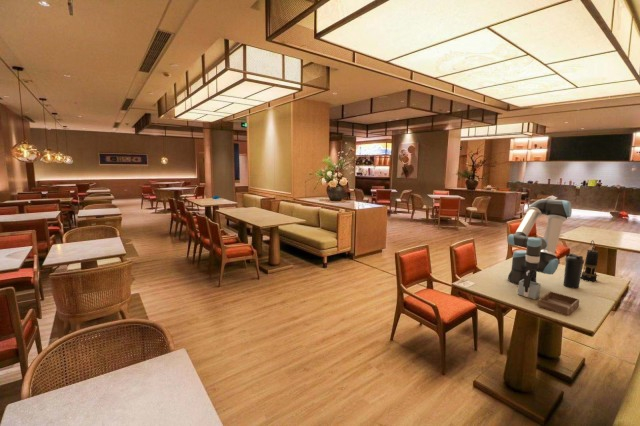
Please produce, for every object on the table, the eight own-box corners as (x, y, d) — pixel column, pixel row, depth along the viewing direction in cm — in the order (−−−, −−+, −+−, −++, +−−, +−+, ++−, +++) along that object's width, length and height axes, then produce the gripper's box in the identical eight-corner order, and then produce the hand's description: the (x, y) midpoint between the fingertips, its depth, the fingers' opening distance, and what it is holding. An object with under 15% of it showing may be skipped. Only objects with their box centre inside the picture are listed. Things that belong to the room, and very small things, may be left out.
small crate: (522, 291, 211) (523, 279, 210) (539, 296, 203) (540, 283, 202) (517, 294, 207) (519, 281, 205) (535, 299, 199) (536, 286, 198)
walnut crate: (549, 297, 202) (550, 291, 202) (578, 306, 191) (579, 299, 190) (537, 306, 190) (538, 299, 190) (568, 315, 179) (569, 308, 178)
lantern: (599, 281, 231) (605, 241, 226) (590, 282, 228) (596, 242, 223) (586, 276, 239) (591, 238, 234) (577, 278, 237) (583, 239, 232)
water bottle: (568, 282, 228) (572, 252, 224) (583, 288, 218) (588, 256, 214) (558, 284, 224) (562, 253, 221) (573, 289, 215) (578, 257, 211)
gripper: (531, 257, 210) (527, 289, 214) (519, 263, 198) (515, 297, 202) (544, 259, 204) (540, 292, 208) (532, 266, 192) (528, 301, 196)
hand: (528, 294), depth 205 cm, fingers closed on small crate, 7 cm apart
